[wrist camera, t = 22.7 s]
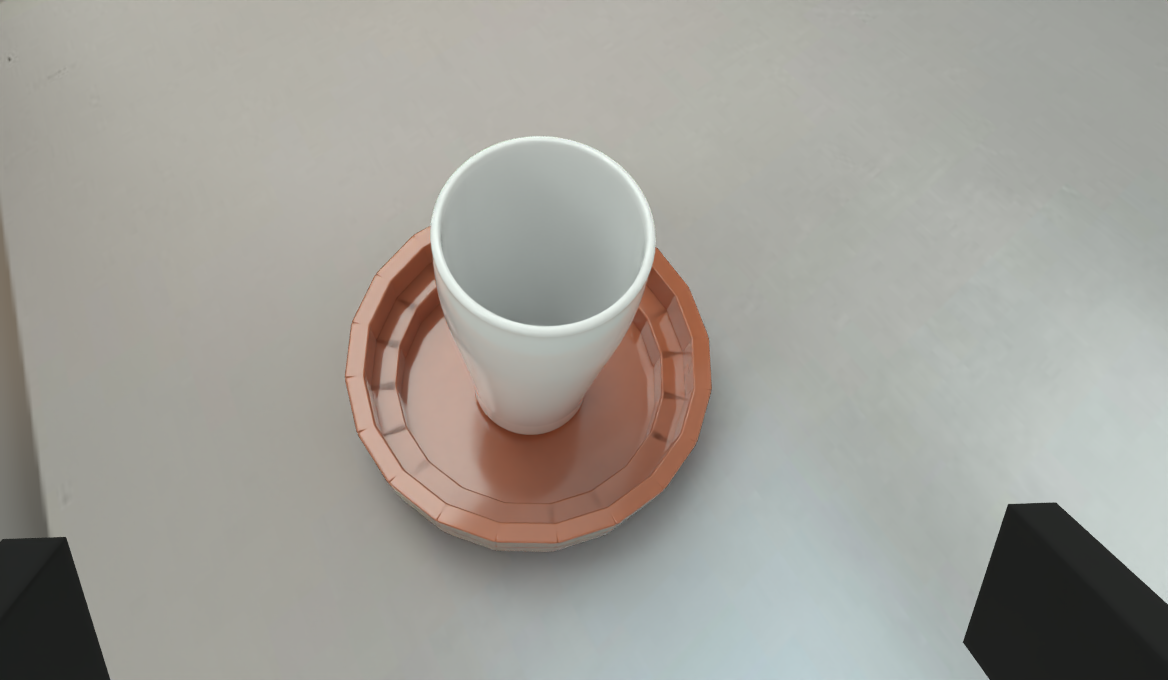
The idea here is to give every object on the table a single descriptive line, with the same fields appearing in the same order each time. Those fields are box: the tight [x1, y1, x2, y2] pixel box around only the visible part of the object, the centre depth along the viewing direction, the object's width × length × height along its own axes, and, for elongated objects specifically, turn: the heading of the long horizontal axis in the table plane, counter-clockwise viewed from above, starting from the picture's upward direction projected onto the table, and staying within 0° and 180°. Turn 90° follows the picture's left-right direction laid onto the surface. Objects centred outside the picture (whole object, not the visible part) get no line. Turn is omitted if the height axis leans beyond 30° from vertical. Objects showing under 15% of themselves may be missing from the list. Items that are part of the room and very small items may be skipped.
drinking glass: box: [430, 136, 656, 435], centre depth 29 cm, size 7×7×15 cm
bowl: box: [345, 226, 712, 552], centre depth 35 cm, size 16×16×4 cm
